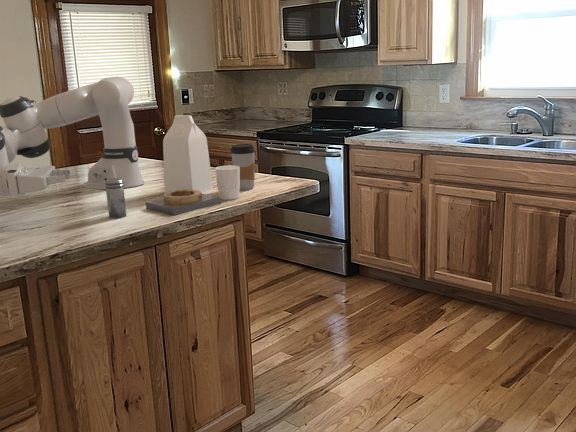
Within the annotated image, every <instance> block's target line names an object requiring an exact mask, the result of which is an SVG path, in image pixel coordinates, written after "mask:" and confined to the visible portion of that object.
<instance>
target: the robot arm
mask: <svg viewBox="0 0 576 432" xmlns="http://www.w3.org/2000/svg"><path fill="white" fill-rule="evenodd" d="M134 97H135V88H134V85H132V83H131V82H130V81H129V79H127V78H125V77H122V76H111V77H104V78H101V79H100V80H99V81H97V82H94V83H90V84H87V85H82V86H81V87H80V86H79V87H77V88H74V89H71V90H68V91H64V92H61V93H58V94H55V95H52V96H50V97H48V98H45V99H44V100H42V101H39V102H38V103H36V101H35V100H33V99H32V100H31V99H29V98H28V97H25V96H21V95H19V96H11V97H9V98H6V99H5V100H4V101H3V102H2V103H0V118H2V120H3V121H2V122H3V123H4V125H5V126H1V125H0V196H2V197H18V196H19V197H20V196H23V195H26V194H27V193H35V192H41V191H45V189H47V188H48V187H49V186H50V185H55V184H59V183H65V182H66V180H67V177H69V176H70V175H71V171H70V169H60V168H56V166H54V165H43V166H42V165H41V166H36V167H35V166H33V167H24V165H23V164H22V163H12V162H14V160H15V159H16V157H17V156H22V157H24V158H27V159H34V158H40V157H42V156H44V155H46V153H48V152H49V151H50V150H51V147H52V144H51V140H50V137H48V134H47V131H46V130H47V129H55V128H60V127H64V126H68V125H71V124H74V123H78V122H80V121H83V120H86V119H89V118H92V117H96V116H99V120H100V124H101V129H102V134H103V135H102V136H103V144H104V147H103V148H102V149H100V150H98V154H101V158H99V160H98V161H97V162H95V163H94V165H92V166H91V167H89V170H88V173H87V181H85V182H83V183H82V184H81V188H86V189H97V190H98V189H99V190H106V188H105V180H107V179H113V178H121V179H123V188H124V189H126V188H127V189H129V188H132V187H133V188H134V187H137V186H141V185H143V184H145V182H144V179H143V175H142V173H141V170H140V166H139V151H138V150H139V149H138V146H137V145H136V136H135V134H136V133H135V126H134V122H133V119H132V116H131V112H130V108H129V104H130V103H132V101H133V98H134ZM11 163H12V164H11Z"/></svg>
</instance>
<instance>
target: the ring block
mask: <svg viewBox="0 0 576 432" xmlns="http://www.w3.org/2000/svg"><path fill="white" fill-rule="evenodd" d="M218 204H221V199H220V197H219V196H215V195H210V194H205V193H202V192H201V191H199V190H193V189H184V190H175V191H170V192H167V193H165V192H164V193H163V197H162V198H159V199H155V200H150V201H146V202H145V208H146V210H149V211H154V212H158V213H162V212H163V213H164V214H167V215H171V216H176V215H180V214H184V213H185V214H186V213H188V212H191V211H195V210H199V209H203V208H207V207H210V206H215V205H218ZM163 213H162V214H163Z"/></svg>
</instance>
